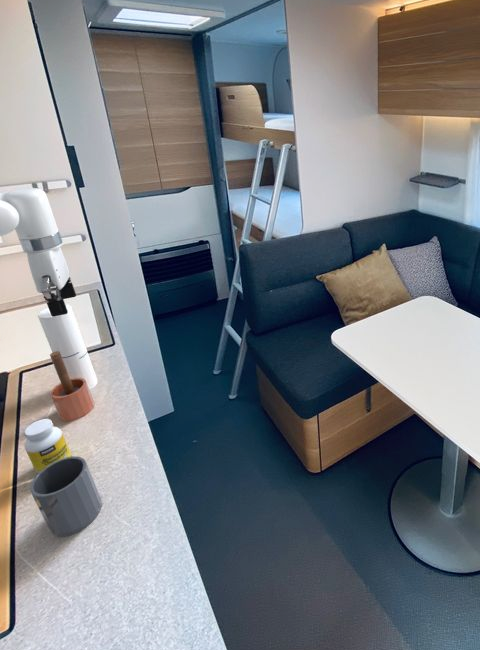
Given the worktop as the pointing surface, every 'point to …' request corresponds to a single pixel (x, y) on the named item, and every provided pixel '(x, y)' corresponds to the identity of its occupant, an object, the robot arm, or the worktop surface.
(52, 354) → the brush
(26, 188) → the robot arm
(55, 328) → the cylindrical container
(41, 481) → the tumbler
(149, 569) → the worktop surface
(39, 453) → the pill bottle
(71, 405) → the cup
